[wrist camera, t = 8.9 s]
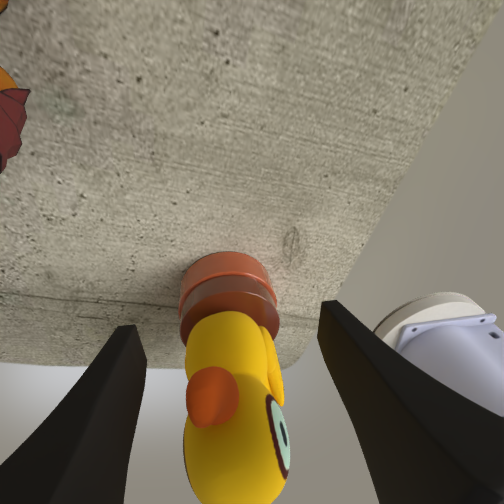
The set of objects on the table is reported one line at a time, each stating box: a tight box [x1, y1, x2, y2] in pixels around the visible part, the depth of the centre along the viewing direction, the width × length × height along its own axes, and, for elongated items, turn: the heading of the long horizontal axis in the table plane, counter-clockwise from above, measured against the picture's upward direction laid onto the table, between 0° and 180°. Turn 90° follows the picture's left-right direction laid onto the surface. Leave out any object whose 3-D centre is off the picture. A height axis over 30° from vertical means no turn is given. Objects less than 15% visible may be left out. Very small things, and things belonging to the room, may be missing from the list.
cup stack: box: [178, 252, 280, 347], centre depth 22 cm, size 7×7×4 cm
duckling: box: [183, 311, 290, 504], centre depth 16 cm, size 11×5×10 cm, turn 15°
